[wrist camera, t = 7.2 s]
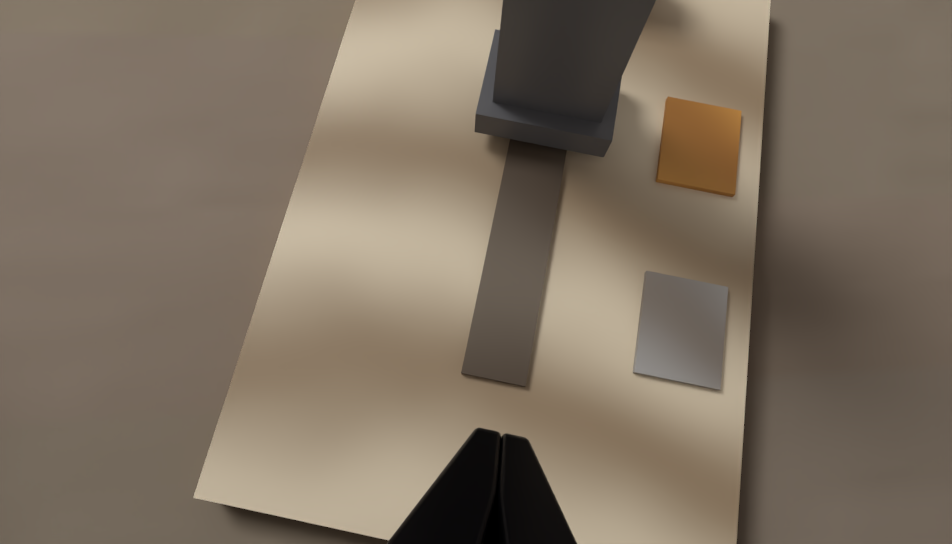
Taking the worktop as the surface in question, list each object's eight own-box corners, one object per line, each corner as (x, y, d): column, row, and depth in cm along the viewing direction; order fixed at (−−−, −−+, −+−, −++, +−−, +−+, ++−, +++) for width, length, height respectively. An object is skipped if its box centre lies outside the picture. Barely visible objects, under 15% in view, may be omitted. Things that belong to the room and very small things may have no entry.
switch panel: (711, 602, 15) (784, 648, 12) (212, 493, 16) (144, 508, 12) (754, 9, 21) (812, -75, 18) (387, -60, 22) (374, -155, 18)
